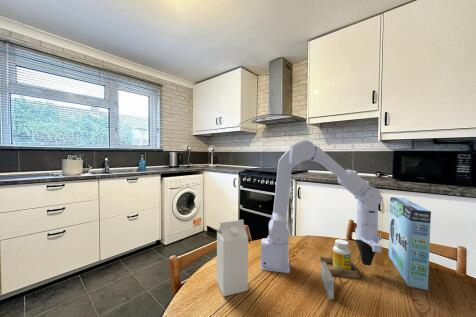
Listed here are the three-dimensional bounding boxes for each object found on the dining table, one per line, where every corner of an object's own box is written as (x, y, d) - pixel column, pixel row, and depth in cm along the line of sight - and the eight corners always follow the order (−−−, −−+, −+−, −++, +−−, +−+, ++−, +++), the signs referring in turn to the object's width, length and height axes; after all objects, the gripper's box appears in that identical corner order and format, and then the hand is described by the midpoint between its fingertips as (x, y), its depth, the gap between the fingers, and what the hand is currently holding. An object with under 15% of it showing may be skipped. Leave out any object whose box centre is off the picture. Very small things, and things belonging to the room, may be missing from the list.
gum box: (388, 256, 76) (389, 196, 76) (404, 259, 74) (406, 198, 74) (407, 286, 59) (409, 208, 58) (430, 291, 57) (432, 210, 56)
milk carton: (216, 281, 60) (217, 218, 60) (238, 276, 63) (239, 216, 62) (223, 297, 53) (223, 226, 53) (247, 291, 56) (248, 223, 56)
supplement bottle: (338, 264, 71) (338, 237, 70) (353, 271, 66) (354, 242, 66) (329, 268, 68) (329, 240, 67) (345, 276, 63) (345, 246, 63)
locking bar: (328, 299, 53) (329, 280, 53) (321, 277, 62) (321, 261, 62) (333, 299, 53) (333, 280, 53) (325, 278, 62) (325, 262, 62)
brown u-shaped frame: (325, 274, 64) (325, 268, 64) (320, 261, 72) (320, 256, 72) (359, 279, 62) (359, 272, 62) (350, 265, 70) (350, 259, 70)
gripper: (393, 231, 57) (392, 278, 57) (370, 216, 71) (370, 254, 72) (366, 229, 59) (365, 275, 59) (349, 215, 73) (348, 252, 73)
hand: (366, 264), depth 65 cm, fingers closed
